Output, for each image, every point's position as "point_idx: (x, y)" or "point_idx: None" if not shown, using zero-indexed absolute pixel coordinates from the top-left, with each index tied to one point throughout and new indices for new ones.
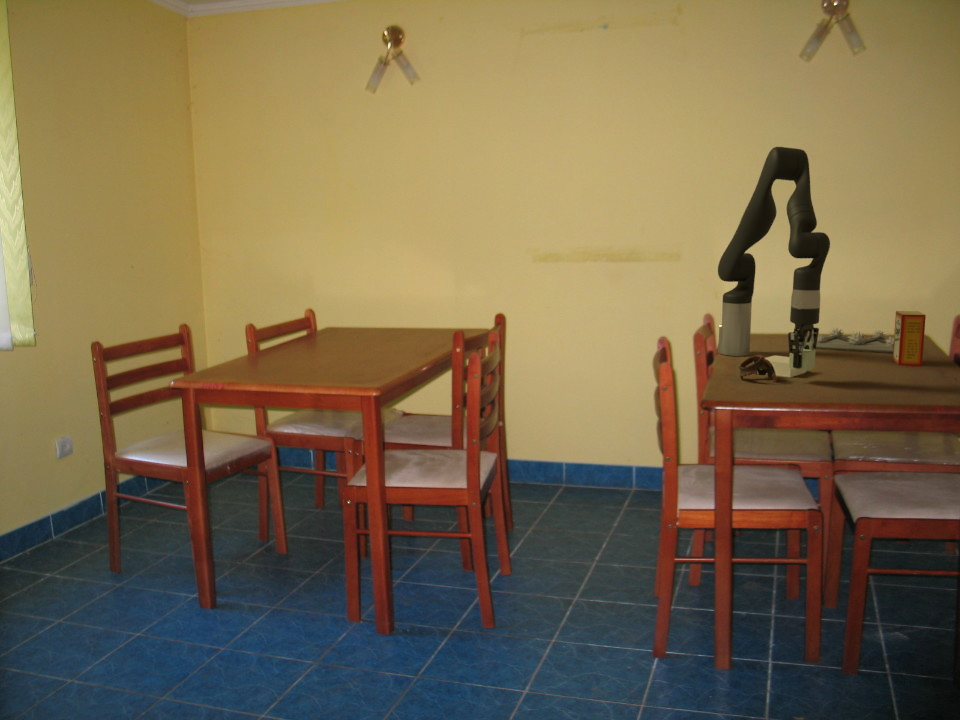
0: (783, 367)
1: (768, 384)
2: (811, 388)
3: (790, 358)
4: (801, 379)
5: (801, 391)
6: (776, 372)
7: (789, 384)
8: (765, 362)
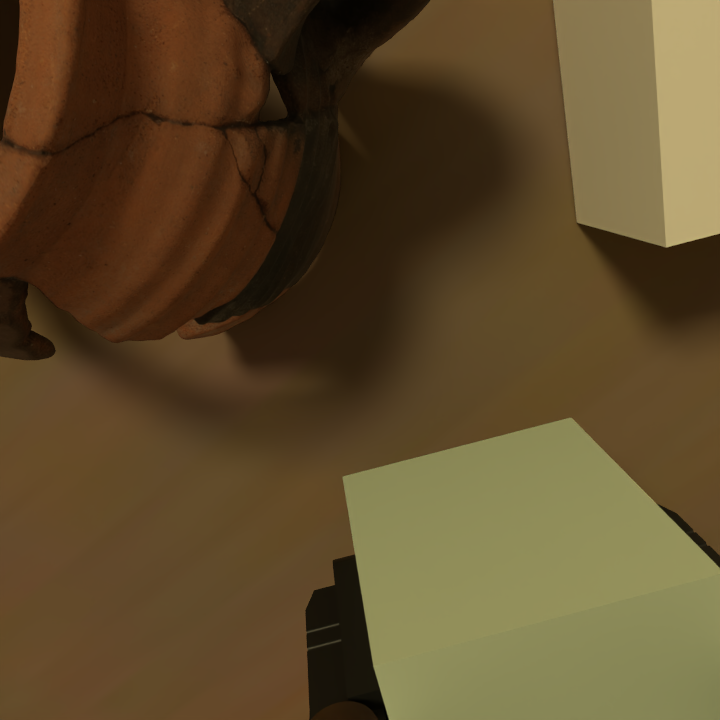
0: (621, 137)
1: (73, 361)
2: (288, 662)
3: (360, 576)
4: (568, 360)
5: (116, 703)
6: (576, 38)
7: (265, 466)
8: (56, 299)
